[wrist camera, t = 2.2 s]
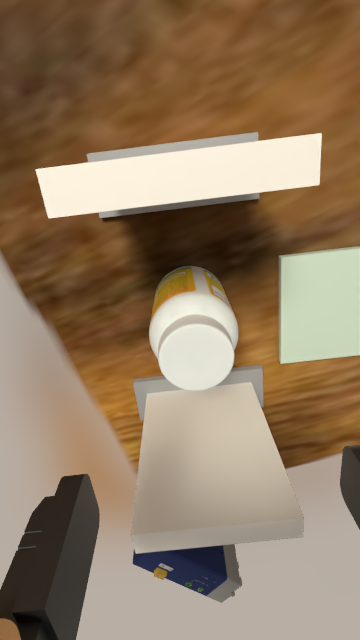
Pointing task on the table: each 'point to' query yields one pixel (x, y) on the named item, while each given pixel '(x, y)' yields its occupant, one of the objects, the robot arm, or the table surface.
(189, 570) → the cassette player
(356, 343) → the pad
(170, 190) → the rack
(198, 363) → the supplement bottle
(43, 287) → the table surface
